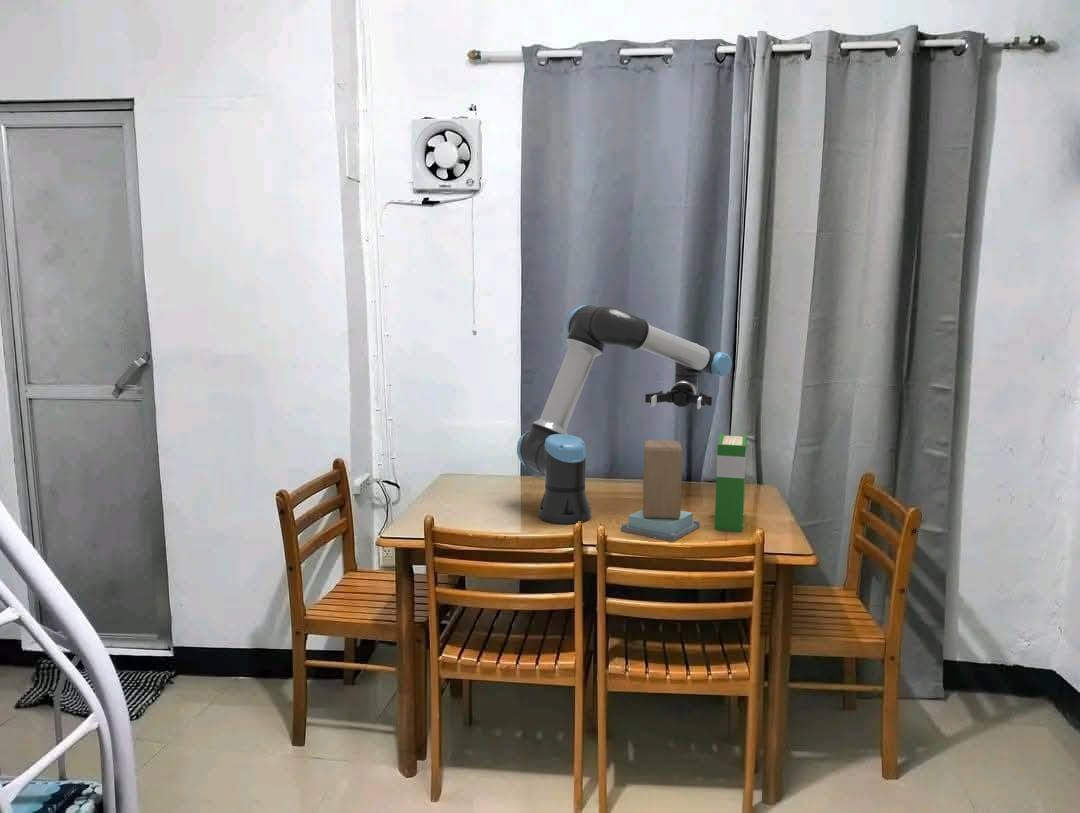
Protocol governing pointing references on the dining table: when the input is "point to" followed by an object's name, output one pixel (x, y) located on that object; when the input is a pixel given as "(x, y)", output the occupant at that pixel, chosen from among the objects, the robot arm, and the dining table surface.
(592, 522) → the dining table surface
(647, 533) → the base plate
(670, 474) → the wooden block
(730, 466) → the hardback book
